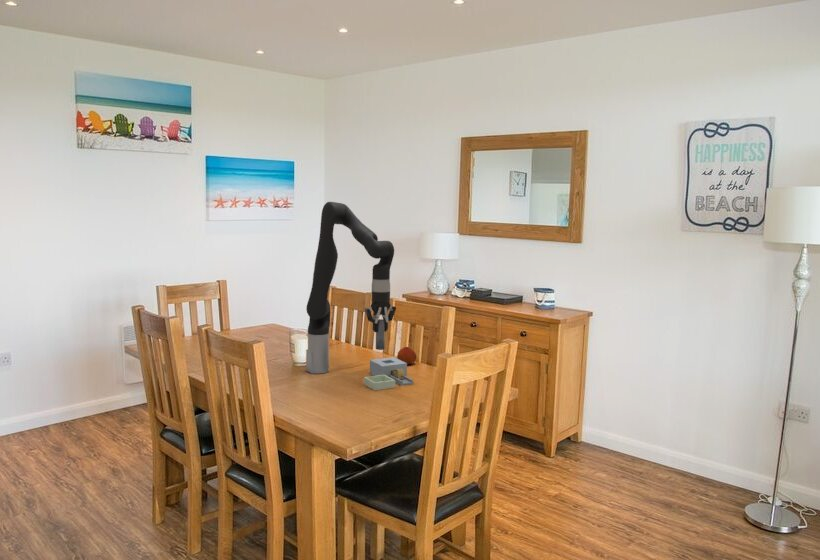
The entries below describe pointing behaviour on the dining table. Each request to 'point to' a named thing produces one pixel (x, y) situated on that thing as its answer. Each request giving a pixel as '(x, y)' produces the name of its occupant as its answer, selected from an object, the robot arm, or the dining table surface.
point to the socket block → (390, 369)
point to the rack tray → (379, 382)
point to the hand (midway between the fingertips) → (380, 331)
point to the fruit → (406, 355)
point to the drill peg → (380, 335)
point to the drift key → (398, 373)
